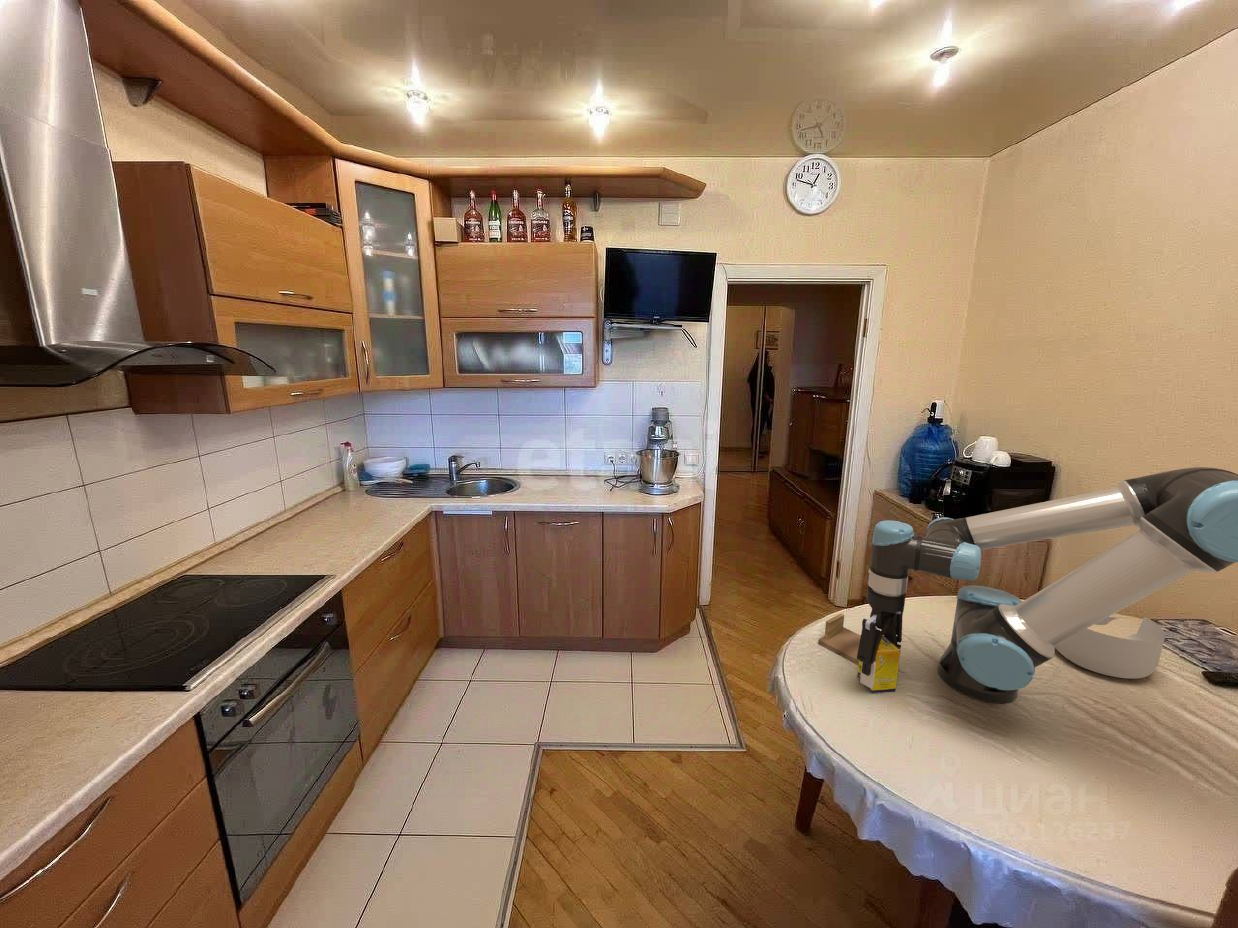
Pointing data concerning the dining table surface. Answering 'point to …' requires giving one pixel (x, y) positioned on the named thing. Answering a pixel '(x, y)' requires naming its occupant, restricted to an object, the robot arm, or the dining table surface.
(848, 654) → the stand
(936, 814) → the dining table surface
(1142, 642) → the bowl
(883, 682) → the supplement box
